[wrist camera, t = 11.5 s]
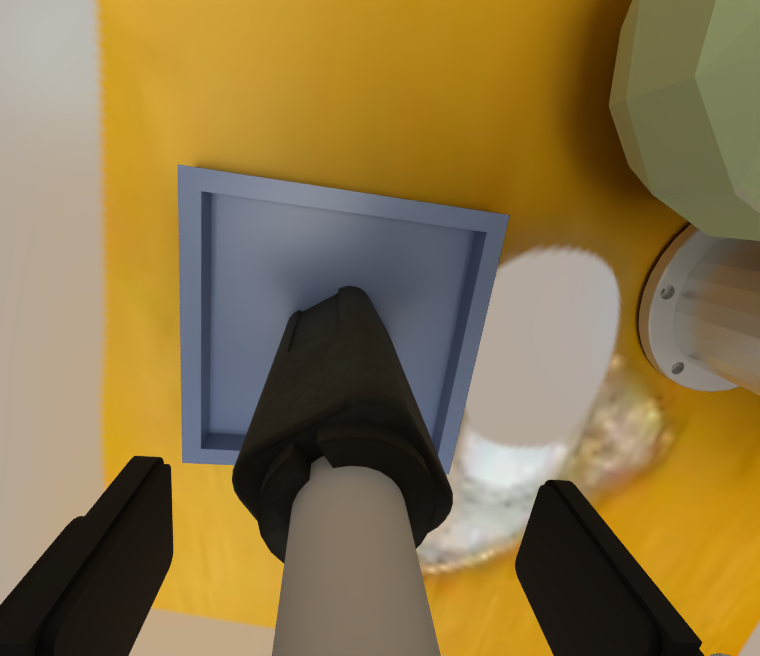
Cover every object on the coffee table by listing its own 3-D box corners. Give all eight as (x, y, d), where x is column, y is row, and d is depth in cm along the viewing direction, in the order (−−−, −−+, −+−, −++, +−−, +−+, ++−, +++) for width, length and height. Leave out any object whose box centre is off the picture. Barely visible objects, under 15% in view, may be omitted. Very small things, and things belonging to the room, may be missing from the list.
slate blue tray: (493, 213, 22) (509, 215, 20) (440, 452, 27) (448, 474, 25) (194, 168, 19) (177, 164, 17) (195, 440, 24) (182, 462, 22)
